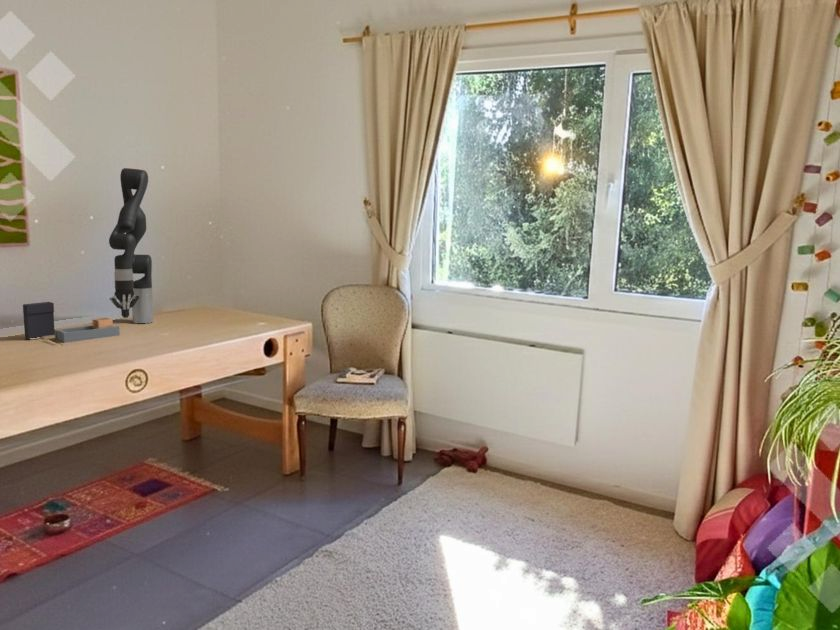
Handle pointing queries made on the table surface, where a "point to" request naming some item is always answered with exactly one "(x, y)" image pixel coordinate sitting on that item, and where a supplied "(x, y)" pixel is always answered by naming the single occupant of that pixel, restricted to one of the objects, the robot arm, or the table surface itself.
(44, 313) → the dark grey upright box
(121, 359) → the table surface
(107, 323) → the block
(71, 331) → the chute
